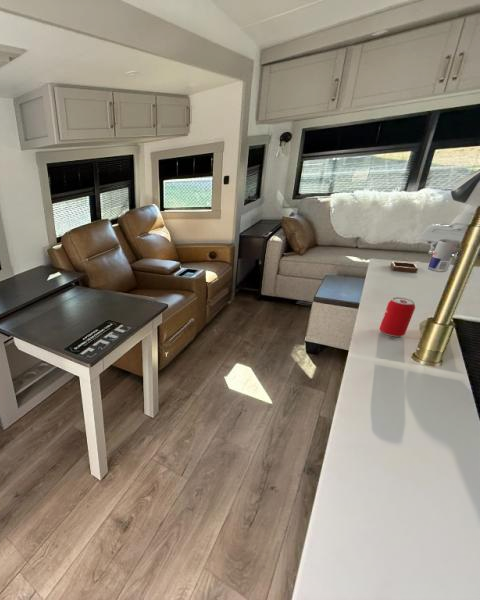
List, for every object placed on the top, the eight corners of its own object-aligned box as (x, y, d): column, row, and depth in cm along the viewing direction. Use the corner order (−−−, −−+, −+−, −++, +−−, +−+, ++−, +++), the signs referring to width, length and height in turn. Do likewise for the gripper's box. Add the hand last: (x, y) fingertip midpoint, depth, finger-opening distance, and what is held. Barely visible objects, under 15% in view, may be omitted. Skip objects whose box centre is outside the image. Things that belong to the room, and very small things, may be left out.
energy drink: (428, 267, 130) (439, 238, 125) (447, 269, 126) (459, 240, 121) (426, 270, 127) (437, 241, 122) (446, 273, 123) (458, 243, 118)
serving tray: (413, 267, 153) (414, 263, 153) (416, 272, 147) (418, 268, 147) (390, 265, 158) (391, 261, 157) (392, 270, 152) (394, 266, 151)
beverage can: (401, 330, 106) (413, 298, 101) (406, 339, 101) (420, 306, 96) (376, 327, 109) (387, 295, 104) (380, 335, 104) (392, 303, 99)
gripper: (429, 218, 130) (407, 245, 131) (505, 225, 112) (479, 256, 113) (432, 227, 133) (410, 253, 134) (506, 235, 115) (480, 266, 116)
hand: (442, 255), depth 124 cm, fingers closed on energy drink, 5 cm apart
